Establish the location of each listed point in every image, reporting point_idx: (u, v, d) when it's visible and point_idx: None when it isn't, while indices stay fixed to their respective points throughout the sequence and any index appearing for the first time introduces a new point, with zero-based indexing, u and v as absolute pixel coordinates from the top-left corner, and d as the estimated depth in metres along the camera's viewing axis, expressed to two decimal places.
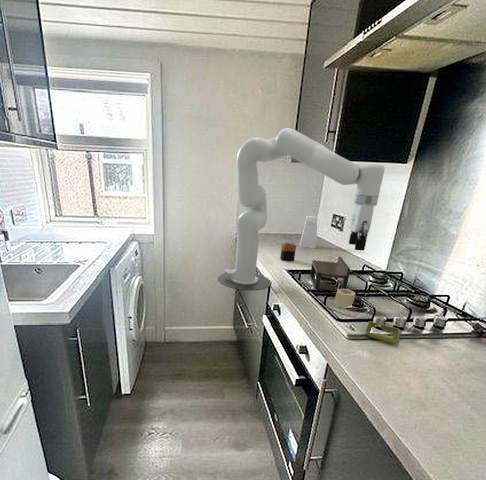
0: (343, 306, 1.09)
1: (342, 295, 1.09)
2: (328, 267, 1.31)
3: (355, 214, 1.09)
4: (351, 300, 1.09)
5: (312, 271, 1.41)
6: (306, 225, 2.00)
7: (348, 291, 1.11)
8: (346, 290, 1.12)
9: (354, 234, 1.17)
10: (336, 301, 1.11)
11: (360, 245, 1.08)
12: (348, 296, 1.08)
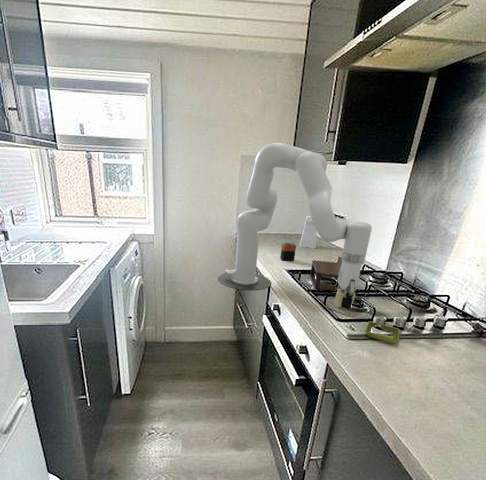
0: None
1: (342, 295, 1.09)
2: (328, 267, 1.31)
3: (342, 270, 1.07)
4: None
5: (312, 271, 1.41)
6: (306, 225, 2.00)
7: (348, 291, 1.11)
8: None
9: None
10: (336, 301, 1.11)
11: (346, 303, 1.07)
12: None
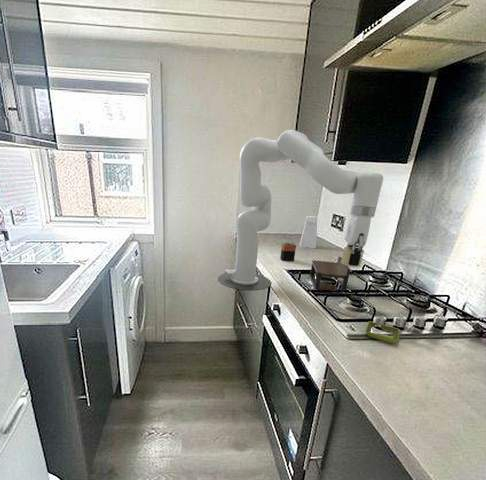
0: None
1: (350, 252, 1.04)
2: (328, 267, 1.31)
3: (351, 225, 1.02)
4: None
5: (312, 271, 1.41)
6: (306, 225, 2.00)
7: None
8: None
9: None
10: (343, 259, 1.06)
11: (354, 260, 1.03)
12: None
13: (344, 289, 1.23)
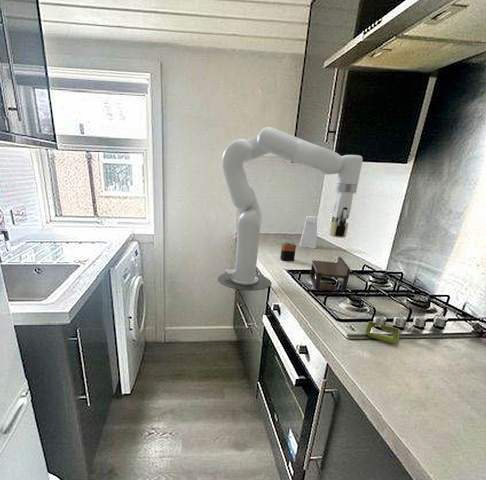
0: None
1: (336, 225, 1.20)
2: (328, 267, 1.31)
3: (336, 201, 1.19)
4: None
5: (312, 271, 1.41)
6: (306, 225, 2.00)
7: None
8: None
9: None
10: (331, 231, 1.22)
11: (340, 231, 1.19)
12: None
13: (344, 289, 1.23)
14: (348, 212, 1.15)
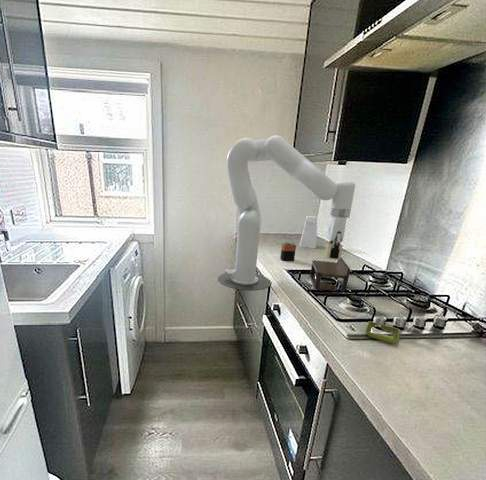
0: None
1: (330, 247, 1.25)
2: (328, 267, 1.31)
3: (331, 225, 1.23)
4: (339, 251, 1.24)
5: (312, 271, 1.41)
6: (306, 225, 2.00)
7: None
8: (334, 244, 1.28)
9: None
10: (326, 253, 1.27)
11: (334, 254, 1.23)
12: None
13: (344, 289, 1.23)
14: (342, 236, 1.20)
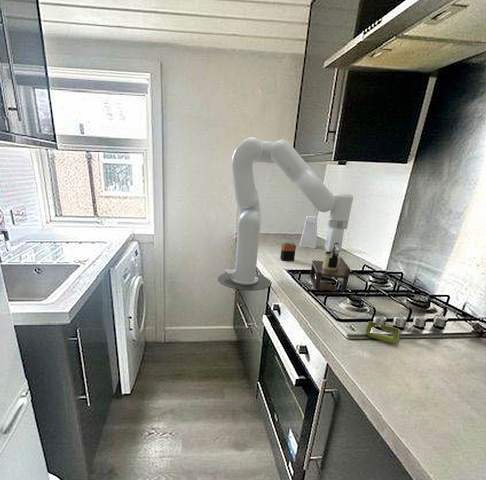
0: (329, 268, 1.27)
1: (328, 258, 1.26)
2: None
3: (328, 236, 1.25)
4: None
5: (312, 271, 1.41)
6: (306, 225, 2.00)
7: None
8: None
9: (329, 252, 1.32)
10: (324, 264, 1.29)
11: (332, 263, 1.23)
12: None
13: (344, 289, 1.23)
14: (339, 247, 1.22)
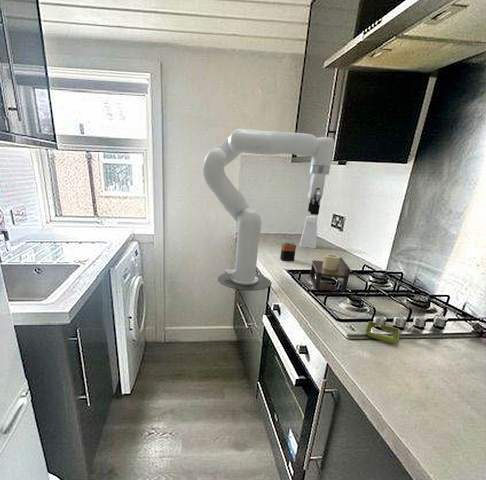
0: (329, 268, 1.27)
1: (328, 258, 1.26)
2: None
3: (310, 183, 1.24)
4: (336, 262, 1.26)
5: (312, 271, 1.41)
6: (306, 225, 2.00)
7: (334, 255, 1.28)
8: (332, 255, 1.29)
9: (312, 202, 1.31)
10: (324, 264, 1.29)
11: (314, 210, 1.22)
12: (334, 259, 1.25)
13: (344, 289, 1.23)
14: (321, 192, 1.21)
